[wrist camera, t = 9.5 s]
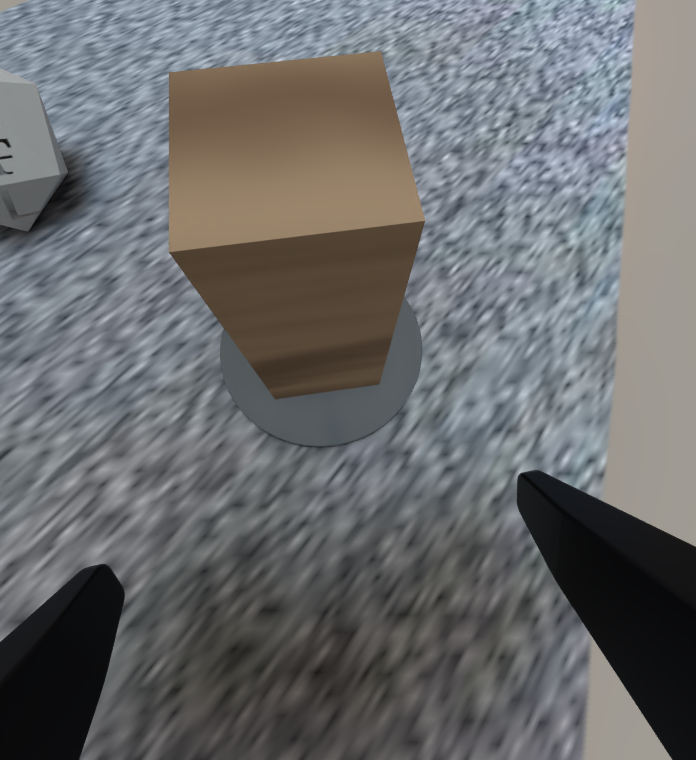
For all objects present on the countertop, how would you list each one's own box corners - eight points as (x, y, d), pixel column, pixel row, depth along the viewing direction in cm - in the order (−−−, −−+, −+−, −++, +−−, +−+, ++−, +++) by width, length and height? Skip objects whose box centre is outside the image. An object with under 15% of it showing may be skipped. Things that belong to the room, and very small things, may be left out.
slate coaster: (425, 446, 19) (429, 444, 18) (214, 447, 19) (209, 445, 18) (413, 266, 23) (415, 257, 22) (234, 266, 23) (230, 258, 22)
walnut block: (379, 384, 19) (424, 220, 8) (275, 399, 19) (168, 251, 8) (362, 293, 21) (380, 51, 10) (266, 306, 21) (168, 72, 9)
